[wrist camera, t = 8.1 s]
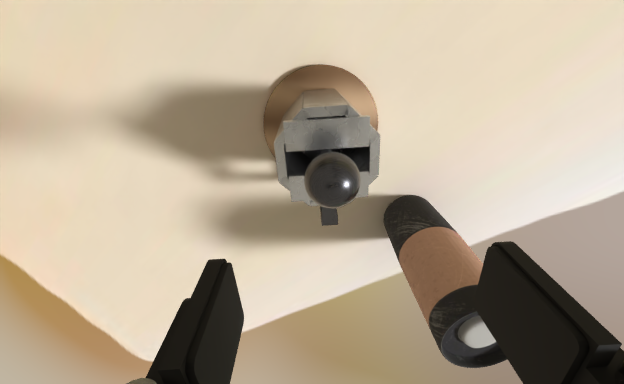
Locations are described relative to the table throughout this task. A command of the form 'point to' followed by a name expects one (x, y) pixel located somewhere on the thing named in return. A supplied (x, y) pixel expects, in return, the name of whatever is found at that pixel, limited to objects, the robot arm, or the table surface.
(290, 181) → the grey slotted housing
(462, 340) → the travel mug
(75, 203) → the table surface
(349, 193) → the plunger
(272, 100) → the disc
